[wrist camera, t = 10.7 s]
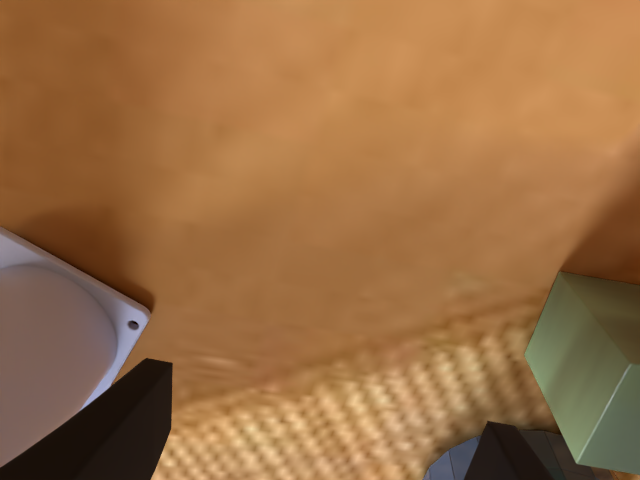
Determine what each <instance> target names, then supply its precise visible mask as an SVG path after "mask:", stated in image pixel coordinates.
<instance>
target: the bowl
mask: <svg viewBox="0 0 640 480" xmlns="http://www.w3.org/2000/svg"><path fill="white" fill-rule="evenodd" d="M518 431H519V432H520V433H521V435H522V436H523V437H524V439H525V440H526V441H527V443H528V444H529V445H530V447H531V448H532V449H533V451H534V452H535V454H536V455H537V456H538V458H539V459H540V460H541V462H542V463H543V464H544V466H545V467H546V468H547V470H548V471H549V472H550V474H551V475H552V477H553V478H554V479H555V480H618V478H617V476H616V474H615V473H614V471H613V470H609V469H603V468H598V467H592V466H586V465H581V464H577V463H576V462H575V460H574V458H573V456H572V454H571V452H570V450H569V448H568V445H567V443H566V441H565V439H564V437H563V435H559V434H555V433H551V432H548V431H542V430H518ZM481 436H482V435H481ZM481 436H477V437H474V438H472V439H470V440H468V441H465V442H463V443H461V444H459V445H457V446H455V447H453V448H451V449H449V450H448V451H447V452H446V453H444V454H443V455H442V456H441V457H440V458H439V459H438V460H436V461H435V462H434V463H433V464H432V465H431V466H430V467H429V468H428V470H427V472H426V474H425V476H424V478H423V480H464V477H465V475H466V472H467V470H468V468H469V465H470V463H471V460H472V458H473V456H474V453H475V451H476V448H477V446H478V443H479V441H480V439H481Z"/></svg>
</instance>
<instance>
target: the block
mask: <svg viewBox="0 0 640 480" xmlns="http://www.w3.org/2000/svg"><path fill="white" fill-rule="evenodd" d="M524 356H525V358H526V360H527V362H528V364H529V366H530V368H531V370H532V373H533V375H534V377H535V379H536V381H537V383H538V385H539V387H540V389H541V391H542V393H543V395H544V398H545V400H546V402H547V404H548V406H549V408H550V410H551V412H552V414H553V416H554V418H555V420H556V423H557V425H558V427H559V429H560V431H561V433H562V435H563V437H564V439H565V441H566V443H567V445H568V448H569V450H570V452H571V454H572V456H573V458H574V460H575V462H576V463H577V464H581V465H586V466H592V467H598V468H603V469H609V470H614V471H620V472H626V473H631V474H637V475H640V285H635V284H629V283H623V282H618V281H612V280H606V279H600V278H595V277H589V276H583V275H577V274H572V273H566V272H559V273H558V275H557V278H556V280H555V283H554V285H553V287H552V290H551V292H550V294H549V297H548V299H547V302H546V304H545V306H544V309H543V311H542V314H541V316H540V318H539V321H538V323H537V325H536V328H535V330H534V333H533V335H532V337H531V340H530V342H529V344H528V347H527V349H526V352H525V354H524Z"/></svg>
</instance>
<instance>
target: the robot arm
mask: <svg viewBox="0 0 640 480" xmlns="http://www.w3.org/2000/svg"><path fill="white" fill-rule="evenodd" d="M150 317H151V314H150V311H149V310H148V309H147V308H146V307H145V306H143V305H141V304H139V303H137V302H136V301H134V300H132V299H130V298H129V297H127V296H125V295H123V294H121V293H120V292H118V291H116V290H114V289H112V288H111V287H109V286H107V285H105V284H103V283H102V282H100V281H98V280H96V279H94V278H93V277H91V276H89V275H87V274H85V273H84V272H82V271H80V270H78V269H76V268H75V267H73V266H71V265H69V264H68V263H66V262H64V261H62V260H60V259H59V258H57V257H55V256H53V255H51V254H50V253H48V252H46V251H44V250H42V249H41V248H39V247H37V246H35V245H33V244H32V243H30V242H28V241H26V240H24V239H23V238H21V237H19V236H17V235H16V234H14V233H12V232H10V231H8V230H7V229H5V228H3V227H0V480H150V479H151V477H152V475H153V473H154V471H155V469H156V466H157V464H158V461H159V459H160V456H161V454H162V451H163V449H164V446H165V443H166V441H167V438H168V435H169V433H170V430H171V412H172V367H173V363H170V362H165V361H159V360H154V359H148V358H146V359H144V360H143V361H141V362H140V363H139V364H138V365H136V366H135V367H134V368H133V369H132V370H130V371H129V372H128V373H127V374H125V375H124V376H123V377H122V378H121V379H119V380H118V381H117V382H116V383H115V384H113V385H112V386H111V384H112V383H113V381H114V379H115V378H116V376H117V374H118V372H119V371H120V369H121V367H122V366H123V364H124V362H125V361H126V359H127V357H128V356H129V354H130V352H131V350H132V349H133V347H134V345H135V344H136V342H137V340H138V339H139V337H140V335H141V334H142V332H143V330H144V328H145V327H146V325H147V323H148V322H149V320H150ZM132 320H133V321H136V322H137V323H138V325H136V324H134V323H133V322H132ZM110 386H111V387H110ZM464 480H555V479H554V478H553V477H552V475H551V474H550V472H549V471H548V470H547V468H546V467H545V466H544V464H543V463H542V462H541V460H540V459H539V458H538V456H537V455H536V454H535V452H534V451H533V449H532V448H531V447H530V445H529V444H528V443H527V441H526V440H525V439H524V437H523V436H522V435H521V433H520V432H519V431H518V429H517V428H516V427H515V426H512V425H507V424H501V423H496V422H490V421H488V422H487V424H486V426H485V429H484V431H483V434H482V436H481V439H480V441H479V443H478V446H477V448H476V451H475V453H474V456H473V458H472V460H471V463H470V465H469V468H468V470H467V472H466V475H465V477H464Z"/></svg>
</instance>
